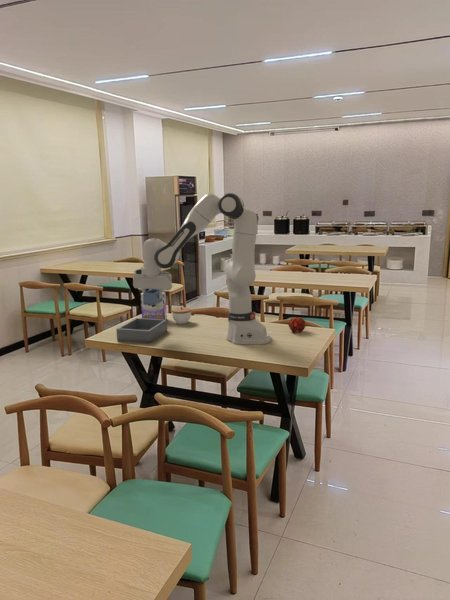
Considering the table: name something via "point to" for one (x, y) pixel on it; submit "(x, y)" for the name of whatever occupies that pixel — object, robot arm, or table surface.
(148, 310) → the candy box
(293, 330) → the dragon fruit
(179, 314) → the lidded jar
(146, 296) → the tote
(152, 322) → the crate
